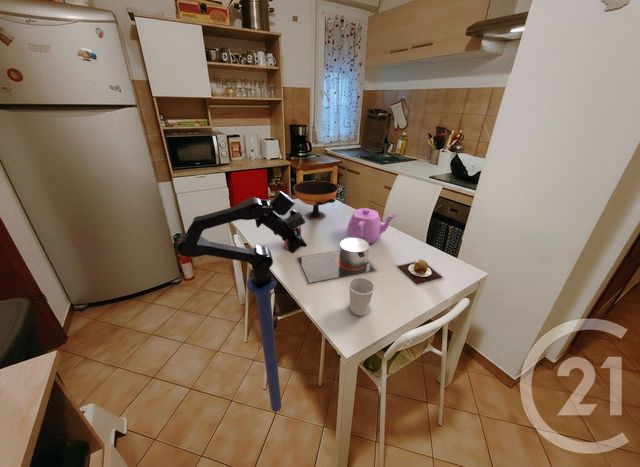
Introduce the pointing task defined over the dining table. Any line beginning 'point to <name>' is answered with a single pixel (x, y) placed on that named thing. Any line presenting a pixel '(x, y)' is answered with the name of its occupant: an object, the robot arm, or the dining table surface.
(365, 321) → the dining table surface
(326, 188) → the orange pedestal bowl
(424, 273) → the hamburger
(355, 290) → the dixie cup
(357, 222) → the teapot
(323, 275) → the hob
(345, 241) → the pot
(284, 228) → the robot arm
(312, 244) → the dining table surface
